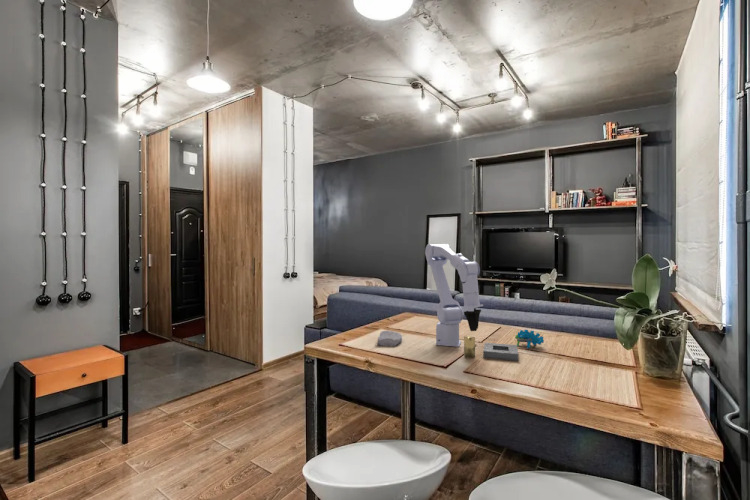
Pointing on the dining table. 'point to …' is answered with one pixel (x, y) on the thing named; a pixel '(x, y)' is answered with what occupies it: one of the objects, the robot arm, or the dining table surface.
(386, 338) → the stone block
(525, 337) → the blue toy dinosaur
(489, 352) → the block
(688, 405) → the dining table surface
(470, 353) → the brass sleeve
